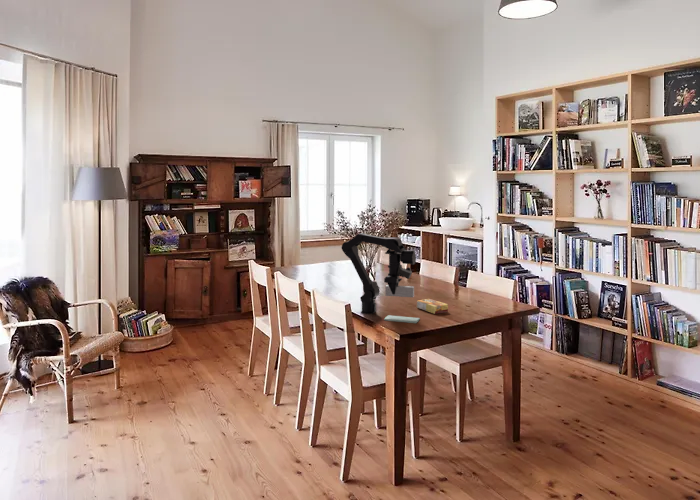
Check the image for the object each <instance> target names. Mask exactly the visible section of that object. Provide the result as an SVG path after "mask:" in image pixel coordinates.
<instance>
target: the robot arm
mask: <svg viewBox="0 0 700 500" xmlns="http://www.w3.org/2000/svg"><path fill="white" fill-rule="evenodd" d="M362 243H367V244H374V245H378V246H381V247H383V248H386V249H387V251H385V252H384V254H385V255H388V265H387V268H388V273H387V276H385V277H384V280H383V281H384V283H385V284H386V283H387V285H389V287H390V289H391V292H392V294H395V291H396V285H398V286H399V284H400V282H401V281H402V280H403V278H405V279H407V280H409V279H410V278H411V276H412V273H413V271H412V270H411V269H412V268H411V267H407V268H403V266H402V264H404V265H415V264H416V261H417V256H416V253H415V250H414V249H413V250H412V249H411V250H408V249H406V248H405V246H404V245H403V242H402V240H401V238H400V237H382V236H376V235H373V234H372V235H371V234H366V233H357V235H355V236H354V237H352V238H350V240H348V241H345V242H343V243H342V244H341V250H342V252H343V253H344V255H345V256H346V257H347V258H349V260H350V261H351V264H352V265H353V268H354V269H355V271H356V273H357V275H358V278H359V279H360V281H361V283H362V291H363V294H362V296H360V301H361V311H360V313H361V314H370V315H371V314H372V315H373V314H374V313H376V312H377V303H376V299H377V297H378V296H379V294H380V292H381V291H380V290H381V289H380V286H379V285H378V282H377V281H373V280H372V279H371V278H370V275H369V273H368V271H367V269H366V267H365V266H364V263H363V261H362V259H361V258H360V256H359V248H358V246H360V244H362ZM401 263H402V264H401ZM400 277H401V278H400Z"/></svg>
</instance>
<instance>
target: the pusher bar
mask: <svg viewBox="0 0 700 500" xmlns="http://www.w3.org/2000/svg"><path fill="white" fill-rule="evenodd" d="M384 292H385V295H384V296H386V297H399V298H414V297H415V285H414V286H413V285H399V284H398V285H396V291H395V294H392V292H391V289H390V287H389V285H388V284H386V285H385V290H384Z"/></svg>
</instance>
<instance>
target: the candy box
mask: <svg viewBox="0 0 700 500" xmlns="http://www.w3.org/2000/svg"><path fill="white" fill-rule="evenodd" d="M416 308H417V309H420V310H422V311H426V312H429V313H431V314H434V315H435V314H443V313H448V311H449V304H448V303H445V302H441V301H439V300H438V301H437V300H435V299H432V298H426V299H419V300H416Z"/></svg>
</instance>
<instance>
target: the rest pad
mask: <svg viewBox="0 0 700 500" xmlns="http://www.w3.org/2000/svg"><path fill="white" fill-rule="evenodd" d="M420 319H421V318H420V317H412V316H402V315H391V314H388V315H387V316H385V318H384V319H383V320H384V321H389V322H398V323H408V324H409V323H410V324H417V323H418V322H419V321H420Z"/></svg>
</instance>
